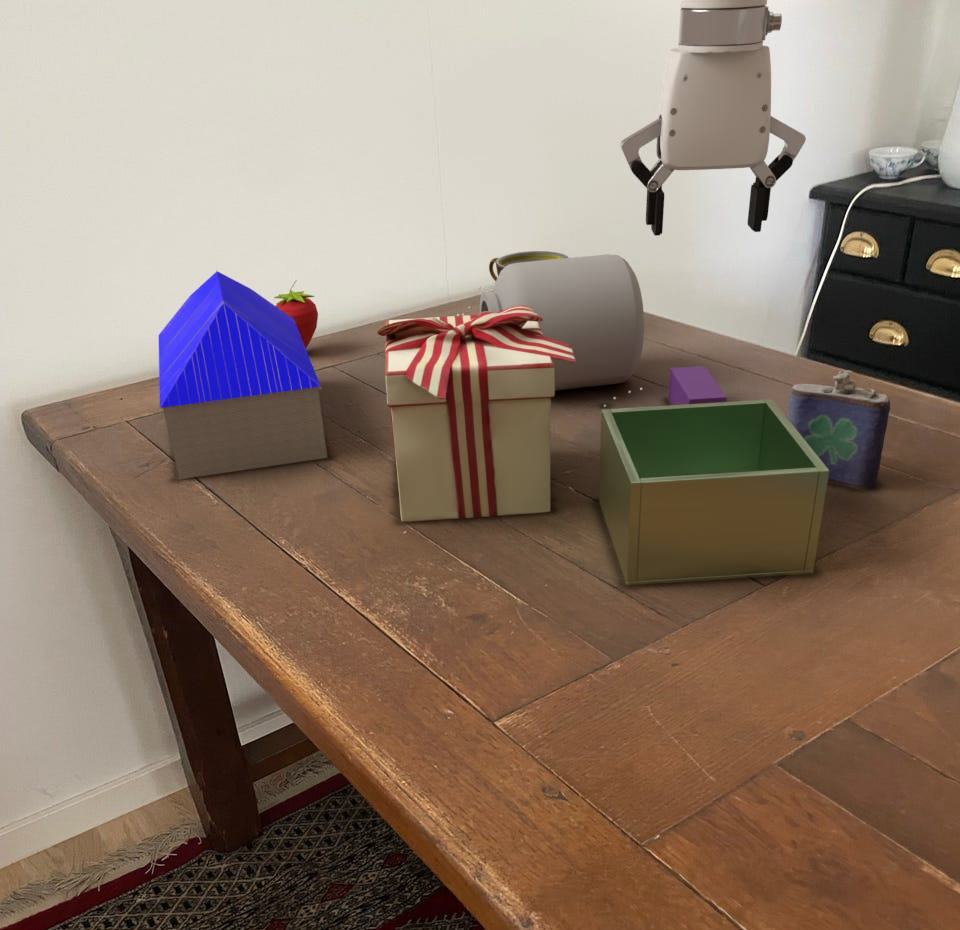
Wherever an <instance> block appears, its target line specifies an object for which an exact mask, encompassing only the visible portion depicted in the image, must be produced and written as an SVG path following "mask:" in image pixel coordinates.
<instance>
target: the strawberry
mask: <svg viewBox="0 0 960 930" xmlns="http://www.w3.org/2000/svg"><path fill="white" fill-rule="evenodd" d="M297 281H298V280H297V279H295V281H294V283H292V286H291V288H290V289H289V291H288V293H281V294H278V295H276V296H274V297H273V299H281V300H280V301H278V302H276V305H275V306H276V307H277V308H279V309H280V310H282V311H283V312H284V313H286V314H287V315H289V316H290V317H292V318H293V319H294V321H295V324H296V326H297V329H298V331H299V334H300V336H301V339H302V341H303V344H304V346H305V348H306V349H307V348H308V346H309V344H310V343H311V342H312V339H313V337H314V334H315V332H316V330H317V327H318V318H319V311H318V309H317V305H316V304H315V303H314V301H313V300H312V299H311V298H315V295H313V294H308V293H305V291H303V290H302V291H294V290H292V289H293V287H294V285H295V284H296V283H297Z"/></svg>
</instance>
